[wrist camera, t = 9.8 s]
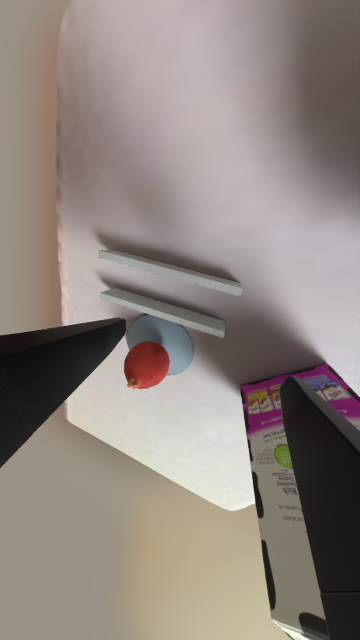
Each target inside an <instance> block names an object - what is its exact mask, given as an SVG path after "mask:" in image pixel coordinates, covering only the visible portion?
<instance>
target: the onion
mask: <svg viewBox="0 0 360 640" xmlns="http://www.w3.org/2000/svg"><path fill="white" fill-rule="evenodd" d="M169 364H170V359H169V356H168V352H167V351H166V350H165V348H164V347H163V346H161V345H160V344H159V343H156V342H152V341H146V342H141V343H139V344H137V345H135V346H133V347H132V348H131V350H130V351H129V353H128V355H127V356H126V359H125V362H124V373H125V376H126V379H127V381H128V384H127V386H128V387H129V388H130V389H134V388H138V389H145V388H149V387H152V386H155V385H157V384H159V383H160V382H161V381H162V380H163V379H164V377H165V376H166V374H167V373H168V369H169Z"/></svg>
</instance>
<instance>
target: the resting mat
mask: <svg viewBox="0 0 360 640" xmlns="http://www.w3.org/2000/svg"><path fill="white" fill-rule="evenodd" d="M146 341H152V342H156V343H159V344H160V345H161V346H163V347H164V348H165V350H166V351H167V352H168V356H169V359H170V364H169V369H168V373H167V374H166V375H176V374H179V373H181V372H183V371H184V370H185V369H187V367H188V366H189V365H190V363H191V361H192V358H193V352H194V349H193V343H192V340H191V338H190V336H189V334H188V332H187V331H186V330H185V329H184V328H183V326H181V325H180V324H178V323H174V322H171V321H168V320H165V319H162V318H159V317H156V316H153V315H150V314H148V315H144V316H142V317H139V318H138V319H137V320H135V321H134V322H133V323H132V324H131V326H130V327H129V329H128V333H127V344H128V348H129V350H131V348H132V347H133V346H135V345H137V344H139V343H141V342H146Z"/></svg>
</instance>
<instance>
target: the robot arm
mask: <svg viewBox="0 0 360 640" xmlns="http://www.w3.org/2000/svg"><path fill="white" fill-rule="evenodd" d="M125 332H126V320H125V319H122V318H112V319H106V320H99V321H93V322H87V323H80V324H74V325H68V326H62V327H56V328H49V329H46V330H45V329H42V330H36V331H30V332H23V333H16V334H9V335H0V468H1V467H2V466H3V465H4V464H5V462H7V461H8V459H9V458H10V457H11V456H12V455H13V454H14V453H15V452H16V451H17V450H18V449H19V448H20V447H21V446H22V445H23V444H24V443H25V442H26V441H27V440H28V439H29V437H31V436H32V434H33V433H34V432H35V431H36V430H37V429H38V428H39V427H40V426H41V425H42V424H43V423H44V422H45V421H46V420H47V419H48V418H49V417H50V415H52V414H53V413H54V411H55V410H56V409H57V408H58V407H59V406H60V405H61V404H62V403H63V402H64V401H65V400H66V399H67V398H68V397H69V396H70V395H71V394H72V393H73V392H74V391H75V390H76V389H77V388H78V386H79V385H80V384H81V383H82V382H83V381H84V380H85V379H86V378H87V377H88V376H89V375H90V374H91V373H92V372H93V371H94V370H95V369H96V368H97V367H98V366H99V365H100V364H101V363H102V362H103V360H104V359H105V358H106V357H107V356H108V355H109V354H110V353H111V352H112V350H113V349H114V348H115V347H116V345H117V344H118V343H119V341H120V340H121V339H122V338H123V336H124V335H125ZM279 392H280V401H281V410H282V419H283V425H284V430H285V435H286V439H287V444H288V448H289V453H290V458H291V462H292V467H293V472H294V476H295V481H296V485H297V490H298V495H299V499H300V504H301V508H302V513H303V518H304V522H305V527H306V531H307V536H308V541H309V545H310V550H311V554H312V559H313V564H314V568H315V573H316V577H317V582H318V587H319V590H320V597H321V601H322V606H323V610H324V615H325V620H326V624H327V629H328V633H329V638H330V640H360V430H358V429H357V428H356V427H355V426H354V425H353V424H352V423H350V422H349V421H348V420H347V419H346V418H345V417H344V416H342V415H341V414H340V413H339V412H338V411H337V410H336V409H334V408H333V407H332V406H331V405H330V404H329V403H328V402H326V401H325V400H324V399H323V398H322V397H321V396H319V395H318V394H317V393H316V392H315V391H314V390H313V389H311V388H310V387H309V386H308V385H307V384H306V383H305V382H303V381H302V380H301V379H300V378H297V377H294V376H288V377H287V378H286V380H285V381H284V382H283V383H282V385H281V386H280V390H279Z"/></svg>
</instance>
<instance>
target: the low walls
mask: <svg viewBox="0 0 360 640" xmlns="http://www.w3.org/2000/svg"><path fill="white" fill-rule="evenodd" d="M99 258H102V259H106V260H109V261H113V262H117V263H120V264H124V265H128V266H131V267H135V268H138V269H142V270H146V271H149V272H153V273H156V274H160V275H164V276H167V277H171V278H175V279H178V280H182V281H185V282H189V283H193V284H196V285H200V286H203V287H207V288H211V289H214V290H218V291H222V292H225V293H229V294H232V295H236V296H241V293H242V291H243V287H242V285H241V283H238V282H234V281H231V280H227V279H223V278H219V277H215V276H212V275H208V274H204V273H200V272H196V271H193V270H189V269H185V268H181V267H177V266H174V265H170V264H166V263H162V262H158V261H155V260H151V259H147V258H143V257H139V256H136V255H132V254H128V253H124V252H120V251H117V250H99ZM100 299H103V300H106V301H109V302H113V303H116V304H119V305H122V306H125V307H128V308H131V309H134V310H137V311H140V312H144V313H147V314H150V315H153V316H156V317H159V318H162V319H165V320H168V321H171V322H174V323H178V324H181V325H184V326H187V327H190V328H193V329H196V330H199V331H202V332H205V333H209V334H212V335H215V336H218V337H221V338H223V336H224V334H225V321H223V320H220V319H216V318H213V317H210V316H206V315H203V314H200V313H197V312H193V311H190V310H187V309H183V308H180V307H177V306H174V305H170V304H167V303H164V302H161V301H157V300H154V299H151V298H147V297H144V296H141V295H138V294H134V293H131V292H128V291H124V290H121V289H118V288H113V289H110V290H107V291H104V292H101V293H100Z"/></svg>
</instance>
